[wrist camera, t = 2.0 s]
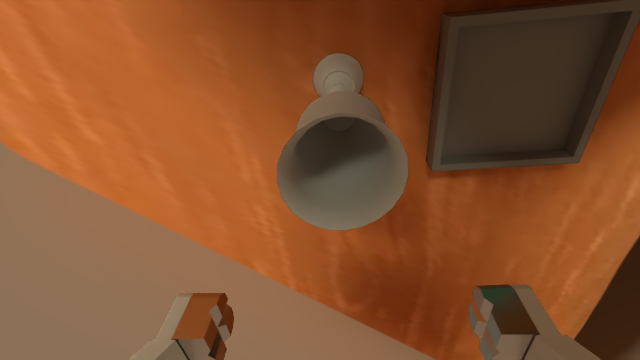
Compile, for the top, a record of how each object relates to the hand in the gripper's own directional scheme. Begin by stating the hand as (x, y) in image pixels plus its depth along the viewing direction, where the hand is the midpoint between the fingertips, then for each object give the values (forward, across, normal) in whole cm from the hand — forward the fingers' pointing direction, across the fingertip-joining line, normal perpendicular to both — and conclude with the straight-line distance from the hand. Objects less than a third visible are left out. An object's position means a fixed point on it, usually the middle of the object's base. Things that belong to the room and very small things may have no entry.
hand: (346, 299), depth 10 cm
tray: (+25, -17, +2) cm, 30 cm away
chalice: (+25, 0, 0) cm, 25 cm away
